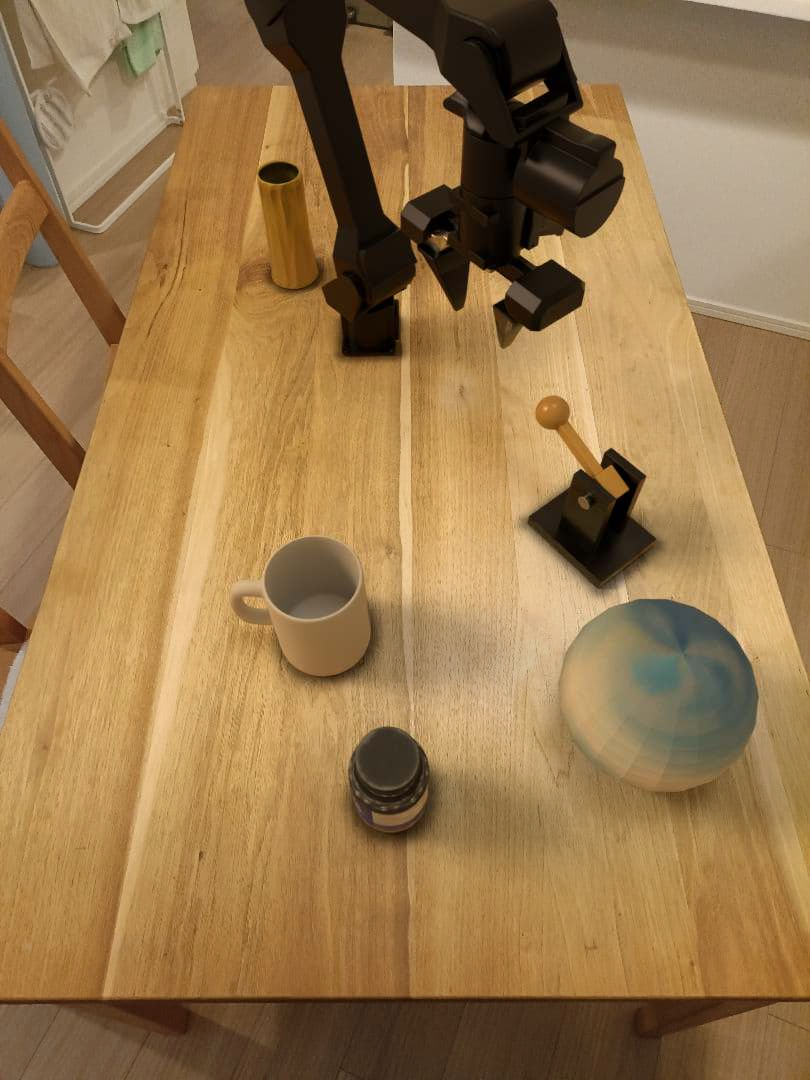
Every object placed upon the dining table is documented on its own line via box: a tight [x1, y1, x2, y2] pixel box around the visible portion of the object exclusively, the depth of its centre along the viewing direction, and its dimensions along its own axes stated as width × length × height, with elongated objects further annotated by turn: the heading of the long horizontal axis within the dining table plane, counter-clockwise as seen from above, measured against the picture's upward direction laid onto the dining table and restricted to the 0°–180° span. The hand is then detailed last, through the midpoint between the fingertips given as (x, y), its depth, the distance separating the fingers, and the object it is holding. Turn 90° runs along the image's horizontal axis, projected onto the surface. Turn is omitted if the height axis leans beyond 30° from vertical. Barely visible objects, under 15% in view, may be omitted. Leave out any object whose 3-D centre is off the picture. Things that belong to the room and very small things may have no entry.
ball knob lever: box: [534, 394, 629, 499], centre depth 71 cm, size 12×3×3 cm, turn 39°
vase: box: [255, 158, 319, 290], centre depth 94 cm, size 6×6×14 cm
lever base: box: [527, 447, 657, 589], centre depth 74 cm, size 10×8×10 cm
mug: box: [228, 534, 371, 677], centre depth 68 cm, size 12×8×11 cm
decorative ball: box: [557, 598, 760, 793], centre depth 61 cm, size 15×15×15 cm
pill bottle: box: [347, 725, 430, 834], centre depth 59 cm, size 6×6×11 cm
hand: (481, 327), depth 76 cm, fingers open, 7 cm apart
